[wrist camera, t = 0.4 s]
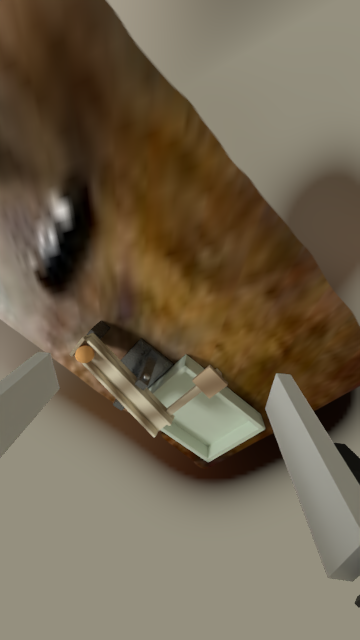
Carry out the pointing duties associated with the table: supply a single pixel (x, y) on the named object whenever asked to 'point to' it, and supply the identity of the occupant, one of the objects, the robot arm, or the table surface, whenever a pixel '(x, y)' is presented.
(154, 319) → the table surface
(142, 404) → the lever
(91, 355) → the ball
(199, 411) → the tray
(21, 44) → the table surface
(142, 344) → the stand
